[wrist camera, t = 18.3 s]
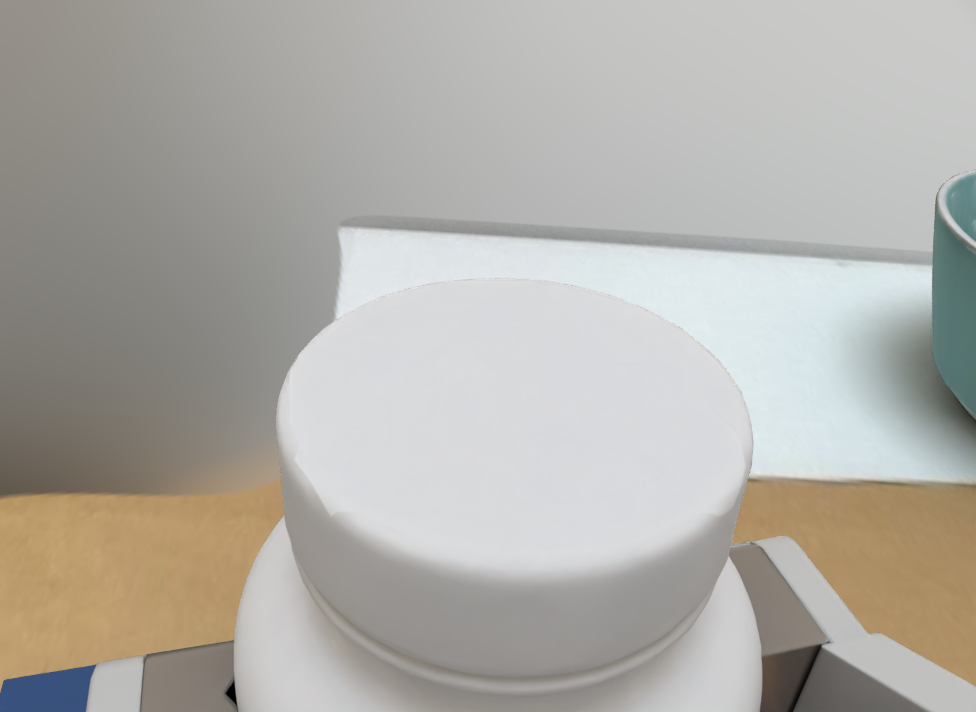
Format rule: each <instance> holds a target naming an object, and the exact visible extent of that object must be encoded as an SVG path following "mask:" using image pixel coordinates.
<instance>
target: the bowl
mask: <svg viewBox="0 0 976 712" xmlns="http://www.w3.org/2000/svg"><path fill="white" fill-rule="evenodd" d="M932 329H933V357H934V362H935V365H936V367H937V370H938V372H939V374H940V376H941V377H942V379H943V381H944V382H945V384H946V385H947V386H948V388H949V389H950V390H951V391H952V393H953V394H954V395H955V396H956V397H957V399H958V400H959V401H960V403H961V404H962V406H963V407H964V408H965V409H966V410H967V411H968V413H969V414H970V415H971V416H972V417H973V418H974V419H975V420H976V170H971V171H967V172H964V173H961V174H958V175H955V176H953V177H951V178H950V179H949V180H948V181H946V182H945V183H944V184H943V185H942V186H941V187H940V189H939V191H938V193H937V196H936V204H935V222H934V241H933V268H932Z"/></svg>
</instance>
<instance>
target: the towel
mask: <svg viewBox="0 0 976 712" xmlns="http://www.w3.org/2000/svg"><path fill="white" fill-rule="evenodd" d="M95 667H96V665H92V666H86V667H80V668H74V669H68V670H62V671H56V672H49V673H43V674H37V675H31V676H25V677H19V678H13V679H6V680H4V682H3V685H2V689H1V693H0V712H86V708H87V701H88V694H89V687H90V679H91V677H92V674H93V672H94V669H95Z"/></svg>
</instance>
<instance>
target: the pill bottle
mask: <svg viewBox="0 0 976 712" xmlns="http://www.w3.org/2000/svg"><path fill="white" fill-rule="evenodd" d="M276 435H277V444H278V454H279V463H280V473H281V483H282V496H283V508H284V517H283V518H282V519H281V520H280V521H279V523H278V524H277V525H276V527H275V528H274V529H273V531H272V532H271V534H270V535H269V537H268V538H267V540H266V542H265V543H264V545H263V546H262V548H261V550H260V552H259V553H258V555H257V557H256V559H255V561H254V564H253V566H252V568H251V571H250V573H249V576H248V578H247V580H246V583H245V587H244V590H243V593H242V596H241V600H240V605H239V609H238V614H237V620H236V627H235V635H234V679H235V690H236V699H237V706H238V712H760V705H761V696H762V659H761V643H760V638H759V633H758V628H757V623H756V618H755V614H754V611H753V608H752V605H751V601H750V599H749V596H748V594H747V591H746V589H745V586H744V584H743V581H742V579H741V577H740V575H739V573H738V571H737V569H736V567H735V566H734V564H733V562H732V560H731V559H730V557H729V553H730V549H731V545H732V540H733V534H734V530H735V526H736V522H737V518H738V515H739V511H740V507H741V503H742V499H743V496H744V492H745V488H746V484H747V480H748V477H749V473H750V469H751V465H752V454H753V434H752V426H751V421H750V417H749V413H748V410H747V406H746V404H745V401H744V398H743V395H742V393H741V391H740V389H739V388H738V386H737V385H736V383H735V382H734V380H733V379H732V377H731V376H730V374H729V373H728V371H727V370H726V368H725V367H724V366H723V365H722V364H721V362H720V361H719V360H718V359H717V358H716V357H715V356H714V355H713V354H712V353H711V352H710V351H709V350H707V349H706V348H705V347H704V346H703V345H701V344H700V343H699V342H698V341H696V340H695V339H694V338H693V337H691V336H690V335H689V334H688V333H686V332H685V331H684V330H683V329H681V328H680V327H678V326H676V325H674V324H673V323H671V322H669V321H667V320H665V319H663V318H662V317H660V316H658V315H656V314H654V313H652V312H650V311H648V310H646V309H644V308H642V307H640V306H638V305H635V304H632V303H630V302H627V301H624V300H622V299H619V298H616V297H613V296H610V295H607V294H604V293H600V292H596V291H592V290H588V289H584V288H580V287H576V286H573V285H567V284H560V283H554V282H548V281H541V280H531V279H509V278H490V279H468V280H455V281H448V282H440V283H433V284H427V285H423V286H418V287H414V288H409V289H405V290H402V291H399V292H396V293H393V294H389V295H386V296H383V297H381V298H378V299H376V300H374V301H371V302H369V303H367V304H365V305H363V306H361V307H359V308H357V309H355V310H353V311H352V312H350V313H348V314H346V315H344V316H342V317H341V318H339V319H338V320H336V321H334V322H333V323H331V324H330V325H328V326H327V327H325V328H324V329H323V330H322V331H321V332H320V333H319V334H318V335H317V336H316V337H315V338H313V339H312V340H311V342H310V343H309V344H308V345H307V346H306V347H305V348H304V349H303V351H302V352H301V353H300V354H299V355H298V357H297V358H296V360H295V362H294V363H293V365H292V366H291V368H290V369H289V371H288V374H287V376H286V379H285V381H284V384H283V387H282V389H281V393H280V395H279V400H278V405H277V411H276Z"/></svg>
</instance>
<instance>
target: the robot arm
mask: <svg viewBox="0 0 976 712" xmlns="http://www.w3.org/2000/svg"><path fill="white" fill-rule="evenodd" d="M729 557H730V559H731V560H732V562H733V564H734V566H735V567H736V569H737V571H738V573H739V575H740V577H741V579H742V581H743V584H744V586H745V589H746V591H747V594H748V596H749V599H750V601H751V605H752V608H753V611H754V614H755V618H756V623H757V628H758V633H759V638H760V643H761V659H762V696H761V705H760V712H976V686H974V685H972V684H971V683H969V682H967V681H965V680H964V679H962V678H960V677H958V676H956V675H955V674H953V673H951V672H949V671H947V670H946V669H944V668H942V667H940V666H938V665H937V664H935V663H933V662H931V661H929V660H928V659H926V658H924V657H922V656H921V655H919V654H917V653H915V652H913V651H912V650H910V649H908V648H906V647H904V646H903V645H901V644H899V643H897V642H895V641H894V640H892V639H890V638H888V637H886V636H885V635H883V634H881V633H879V632H878V633H873V634H868V632H867V631H866V630H865V629H864V627H863V626H862V625H861V624H860V622H859V621H858V620H857V619H856V617H855V616H854V615H853V613H852V612H851V611H850V610H849V608H848V607H847V606H846V605H845V603H844V602H843V601H842V600H841V598H840V597H839V596H838V594H837V593H836V592H835V591H834V589H833V588H832V587H831V586H830V584H829V583H828V582H827V581H826V579H825V578H824V577H823V576H822V574H821V573H820V572H819V570H818V569H817V568H816V567H815V565H814V564H813V563H812V562H811V560H810V559H809V558H808V557H807V555H806V554H805V553H804V551H803V550H802V549H801V548H800V546H799V545H798V544H797V543H796V542H795V541H794V540H792V539H791V538H789V537H788V536H780V537H774V538H769V539H764V540H759V541H754V542H750V543H747V542H743V543H738V544H733V545H731V549H730V553H729ZM86 712H238V706H237V699H236V690H235V679H234V640H233V641H227V642H221V643H215V644H208V645H202V646H196V647H190V648H184V649H177V650H171V651H165V652H159V653H153V654H146V655H141V656H135V657H129V658H124V659H118V660H113V661H107V662H102V663H97V665H96V667H95V669H94V672H93V674H92V677H91V679H90V687H89V694H88V701H87V708H86Z"/></svg>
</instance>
